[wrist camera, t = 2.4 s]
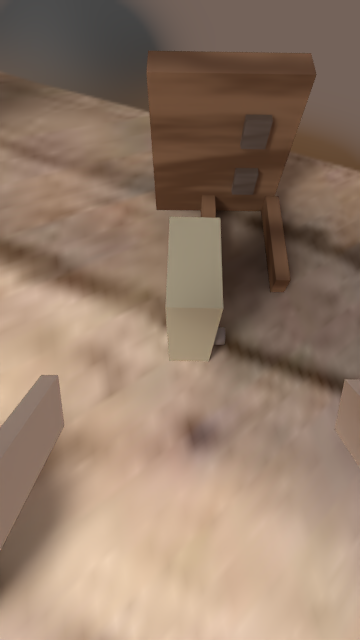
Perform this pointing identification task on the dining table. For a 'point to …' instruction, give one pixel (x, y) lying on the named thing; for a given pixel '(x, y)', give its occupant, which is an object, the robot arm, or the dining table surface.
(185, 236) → the block
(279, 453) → the dining table surface
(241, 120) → the wooden stand
